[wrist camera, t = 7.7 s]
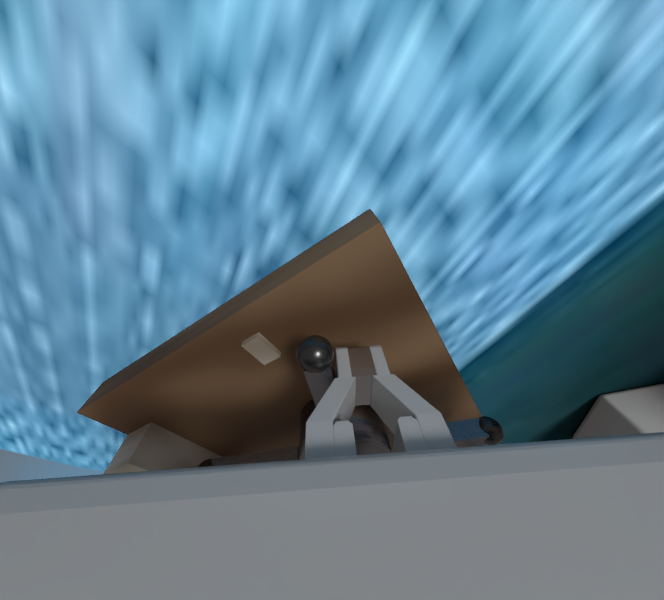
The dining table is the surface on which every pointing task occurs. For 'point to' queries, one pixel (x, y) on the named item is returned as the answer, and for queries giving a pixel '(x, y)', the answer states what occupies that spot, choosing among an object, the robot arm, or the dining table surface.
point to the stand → (276, 357)
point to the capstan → (354, 416)
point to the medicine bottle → (625, 413)
